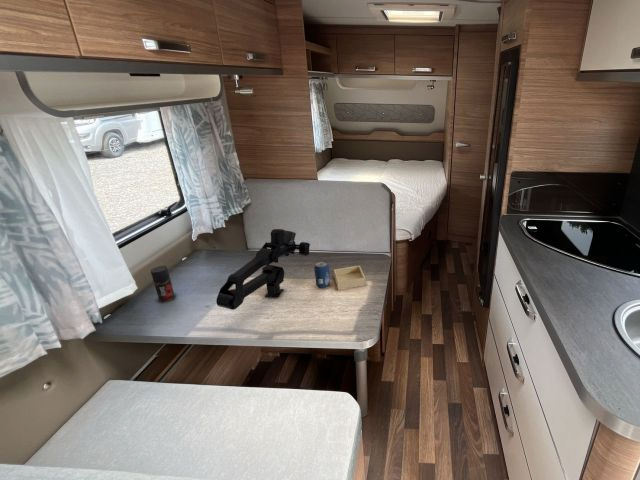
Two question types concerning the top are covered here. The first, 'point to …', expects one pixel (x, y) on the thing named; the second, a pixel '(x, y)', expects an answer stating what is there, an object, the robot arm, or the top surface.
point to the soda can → (322, 274)
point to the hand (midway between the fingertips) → (302, 243)
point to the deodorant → (162, 283)
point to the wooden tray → (349, 277)
